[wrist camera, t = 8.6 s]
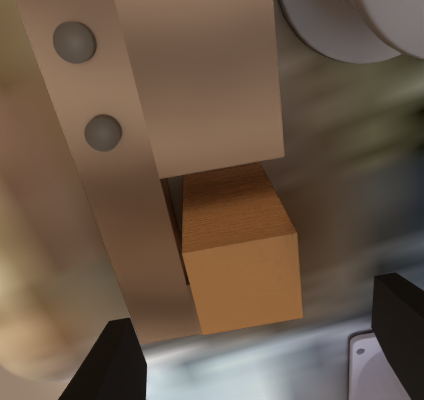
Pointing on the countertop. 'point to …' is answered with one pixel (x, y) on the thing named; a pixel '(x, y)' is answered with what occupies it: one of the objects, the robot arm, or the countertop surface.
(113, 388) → the robot arm
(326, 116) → the countertop surface
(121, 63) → the terminal board
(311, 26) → the door knob
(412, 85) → the countertop surface
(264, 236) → the wooden block
